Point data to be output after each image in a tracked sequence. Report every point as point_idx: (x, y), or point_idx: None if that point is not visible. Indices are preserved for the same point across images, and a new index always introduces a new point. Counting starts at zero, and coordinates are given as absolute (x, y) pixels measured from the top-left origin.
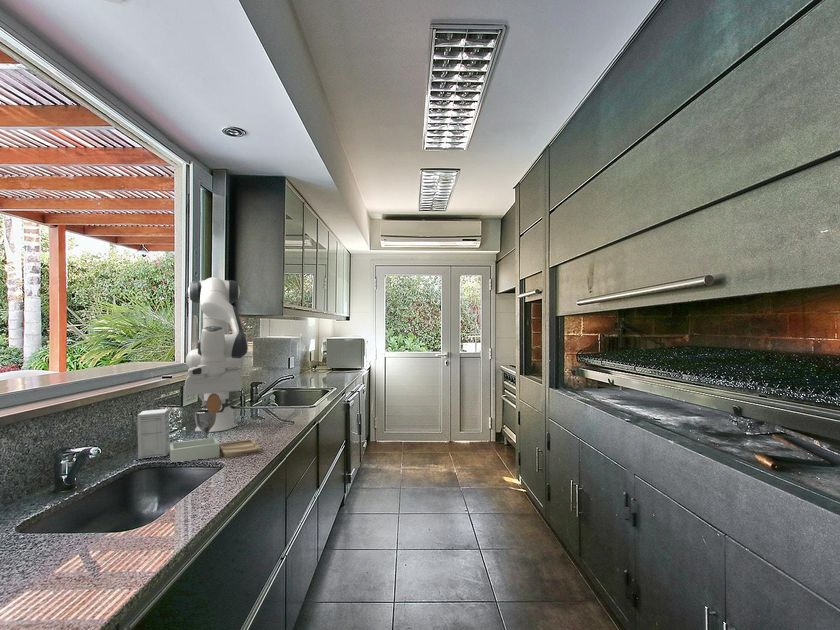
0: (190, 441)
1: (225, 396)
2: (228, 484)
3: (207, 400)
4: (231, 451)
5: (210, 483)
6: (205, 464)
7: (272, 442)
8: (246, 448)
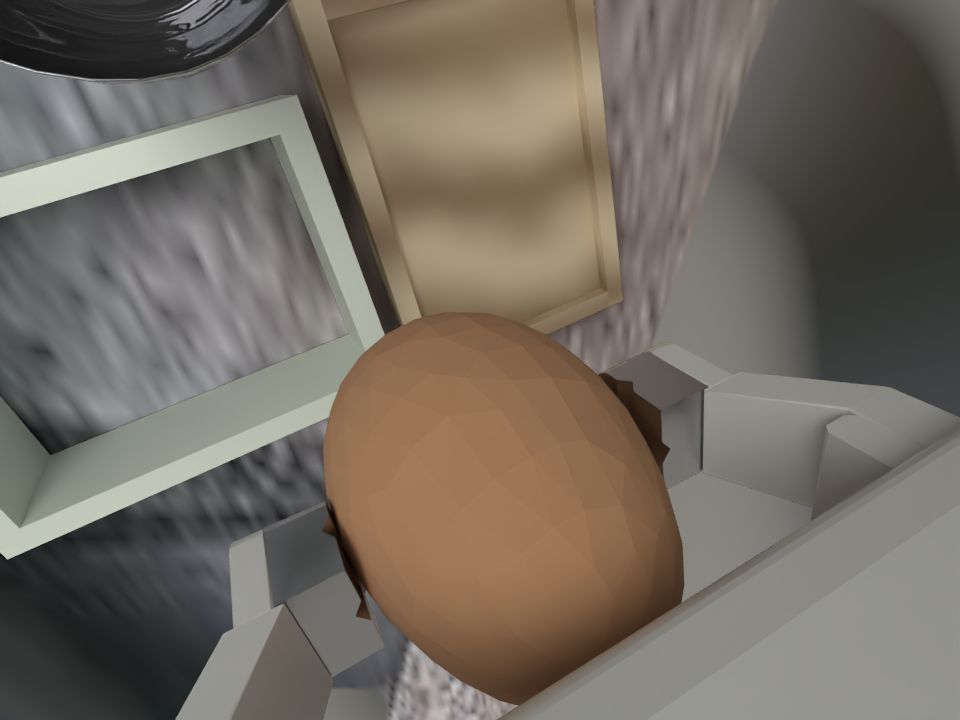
0: (23, 207)
1: (782, 491)
2: (489, 696)
3: (400, 629)
4: (445, 274)
5: (425, 701)
6: (325, 488)
7: (693, 9)
8: (536, 215)
